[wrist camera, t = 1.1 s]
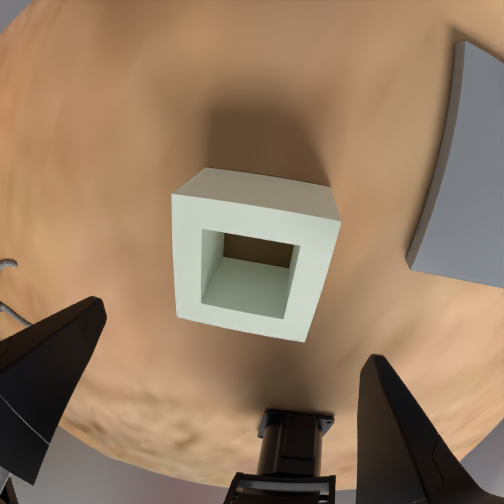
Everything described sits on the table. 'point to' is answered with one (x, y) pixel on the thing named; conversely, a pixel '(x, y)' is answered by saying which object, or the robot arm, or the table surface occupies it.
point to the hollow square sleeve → (245, 272)
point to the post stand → (467, 179)
